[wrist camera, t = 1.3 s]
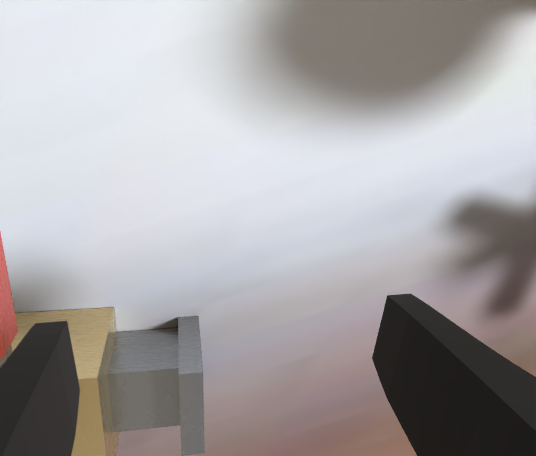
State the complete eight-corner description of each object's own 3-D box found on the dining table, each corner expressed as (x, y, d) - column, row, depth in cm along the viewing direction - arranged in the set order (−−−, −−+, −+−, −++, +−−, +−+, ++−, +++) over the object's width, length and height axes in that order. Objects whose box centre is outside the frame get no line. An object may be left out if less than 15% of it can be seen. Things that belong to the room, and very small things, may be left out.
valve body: (199, 399, 25) (207, 501, 20) (-91, 427, 23) (-179, 554, 17) (198, 302, 23) (205, 385, 17) (-123, 321, 21) (-237, 426, 15)
